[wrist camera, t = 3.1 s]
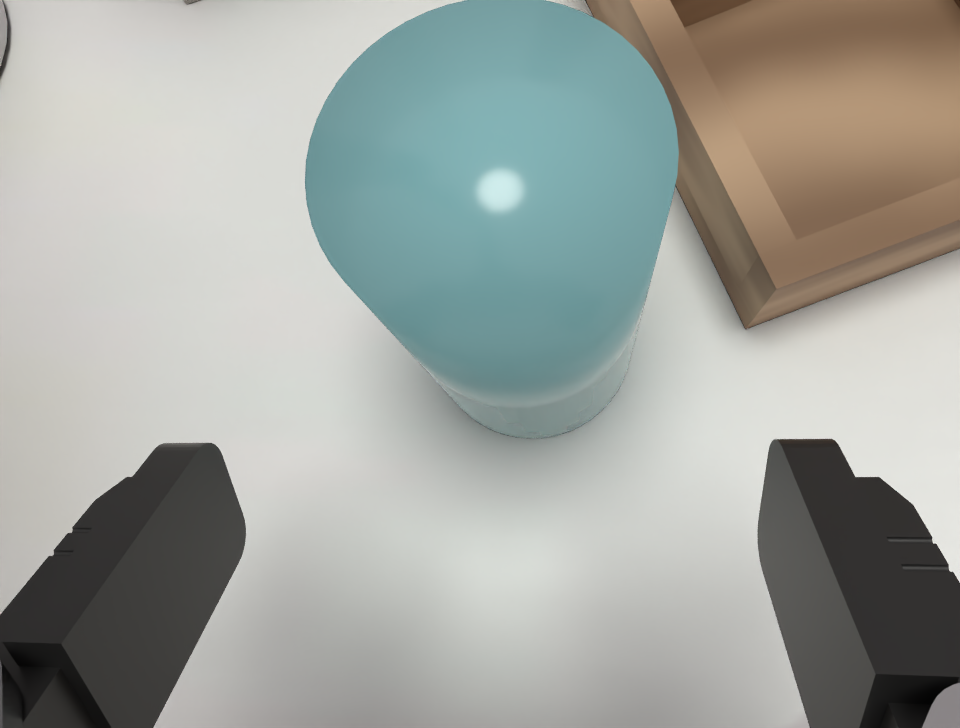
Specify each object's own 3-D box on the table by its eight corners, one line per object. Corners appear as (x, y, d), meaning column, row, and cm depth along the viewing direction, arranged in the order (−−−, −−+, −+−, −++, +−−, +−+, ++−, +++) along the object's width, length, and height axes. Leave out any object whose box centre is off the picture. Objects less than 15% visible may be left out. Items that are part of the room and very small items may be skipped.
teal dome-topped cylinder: (412, 291, 23) (265, 77, 12) (587, 223, 23) (591, -56, 12) (473, 467, 21) (365, 395, 11) (663, 396, 21) (744, 249, 10)
